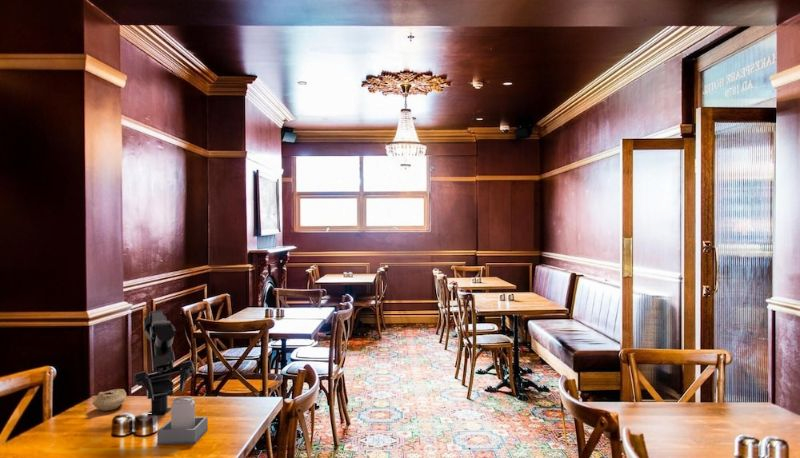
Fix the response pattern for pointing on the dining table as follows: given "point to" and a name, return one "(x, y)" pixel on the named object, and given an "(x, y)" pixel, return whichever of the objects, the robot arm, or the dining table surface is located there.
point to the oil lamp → (109, 399)
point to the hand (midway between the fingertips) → (167, 396)
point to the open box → (182, 433)
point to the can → (183, 413)
